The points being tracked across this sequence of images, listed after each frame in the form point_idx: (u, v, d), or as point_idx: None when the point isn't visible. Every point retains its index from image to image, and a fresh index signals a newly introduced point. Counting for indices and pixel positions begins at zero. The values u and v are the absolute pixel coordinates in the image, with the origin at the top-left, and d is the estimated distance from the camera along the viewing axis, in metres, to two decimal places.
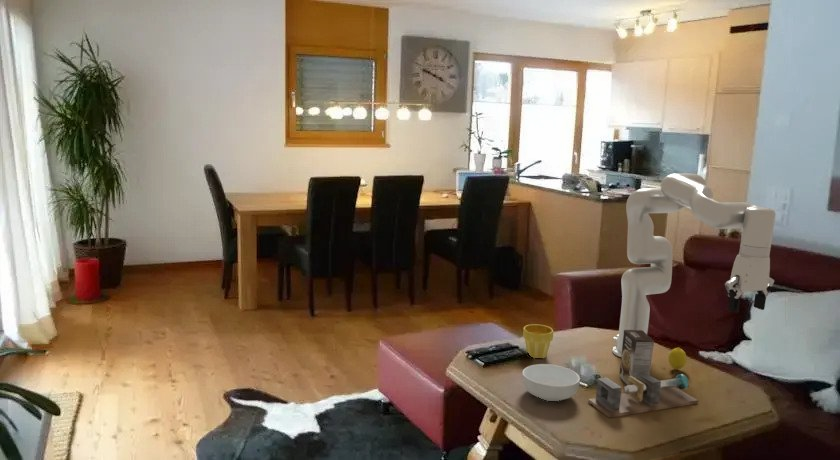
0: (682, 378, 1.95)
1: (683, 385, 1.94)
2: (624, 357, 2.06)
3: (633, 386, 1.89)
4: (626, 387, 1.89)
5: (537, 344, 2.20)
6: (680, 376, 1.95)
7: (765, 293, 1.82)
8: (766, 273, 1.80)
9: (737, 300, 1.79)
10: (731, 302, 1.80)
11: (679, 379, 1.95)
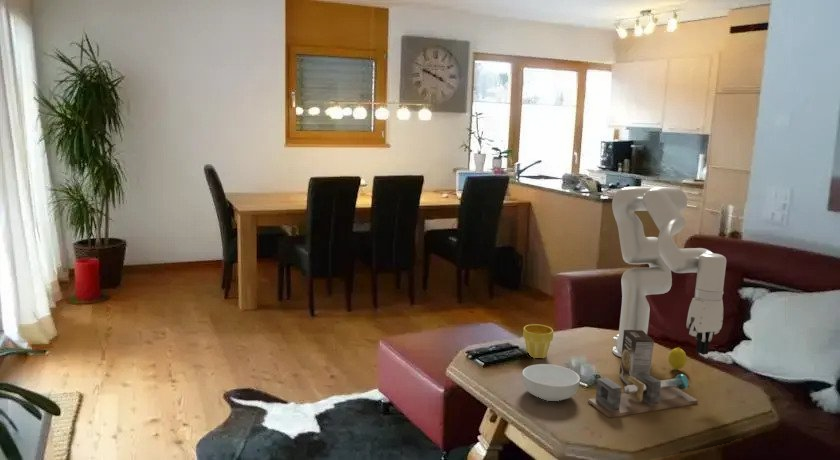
0: (682, 378, 1.95)
1: (683, 385, 1.94)
2: (624, 357, 2.06)
3: (633, 386, 1.89)
4: (626, 387, 1.89)
5: (537, 344, 2.20)
6: (680, 376, 1.95)
7: (708, 338, 1.94)
8: (720, 315, 1.93)
9: (704, 343, 1.94)
10: (698, 345, 1.95)
11: (679, 379, 1.95)
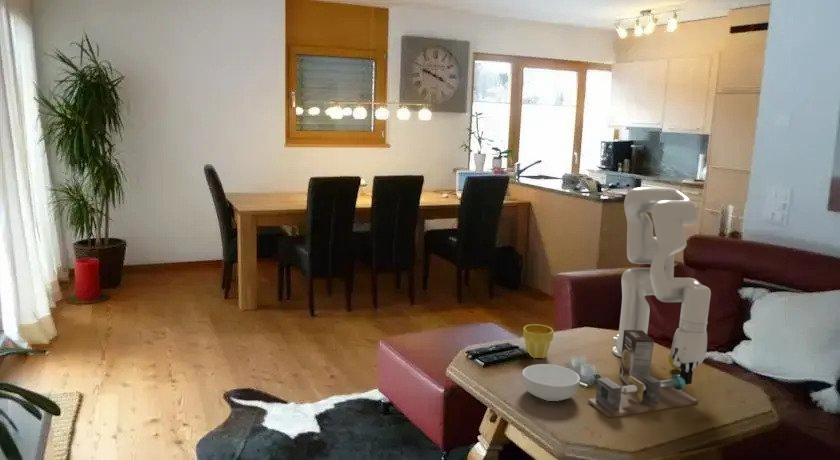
0: (679, 378, 1.94)
1: (680, 385, 1.94)
2: (624, 357, 2.06)
3: (629, 386, 1.88)
4: (623, 388, 1.88)
5: (537, 344, 2.20)
6: (677, 376, 1.95)
7: (692, 368, 1.95)
8: (703, 346, 1.93)
9: (687, 373, 1.94)
10: (682, 375, 1.95)
11: (676, 379, 1.94)
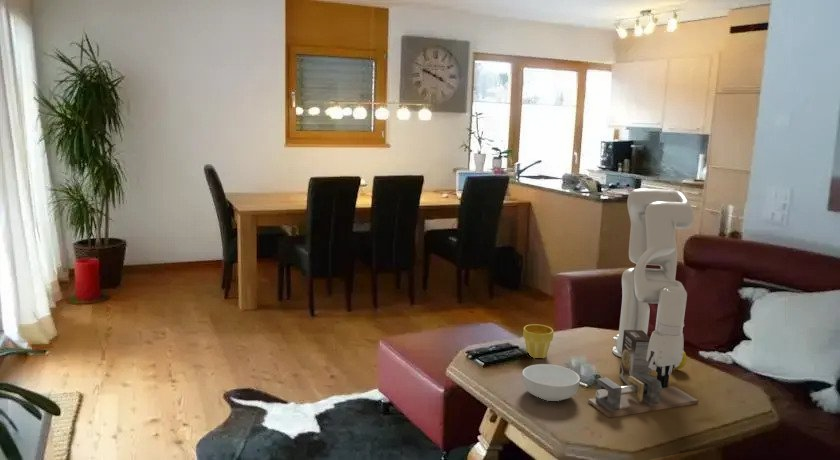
0: None
1: None
2: (624, 357, 2.06)
3: (604, 390, 1.85)
4: (597, 391, 1.85)
5: (537, 344, 2.20)
6: None
7: (668, 372, 1.91)
8: (680, 349, 1.90)
9: (663, 377, 1.91)
10: (658, 378, 1.92)
11: None
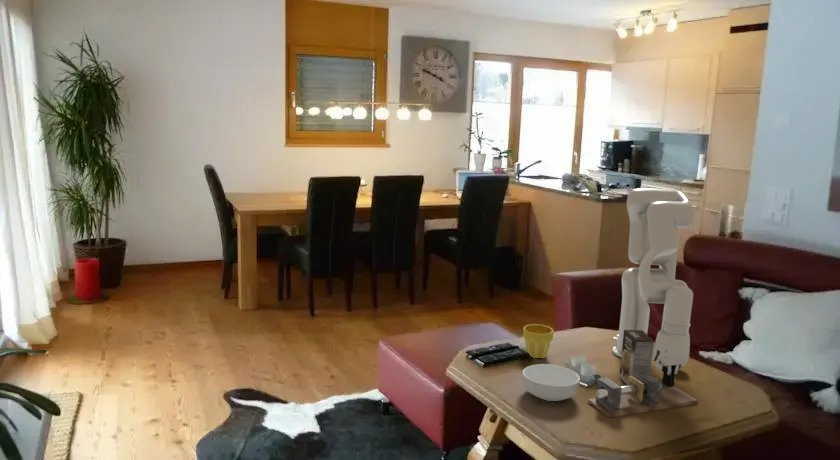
0: None
1: None
2: (624, 357, 2.06)
3: (604, 390, 1.85)
4: (598, 391, 1.85)
5: (537, 344, 2.20)
6: None
7: (674, 371, 1.92)
8: (686, 348, 1.91)
9: (669, 376, 1.92)
10: (664, 377, 1.93)
11: None
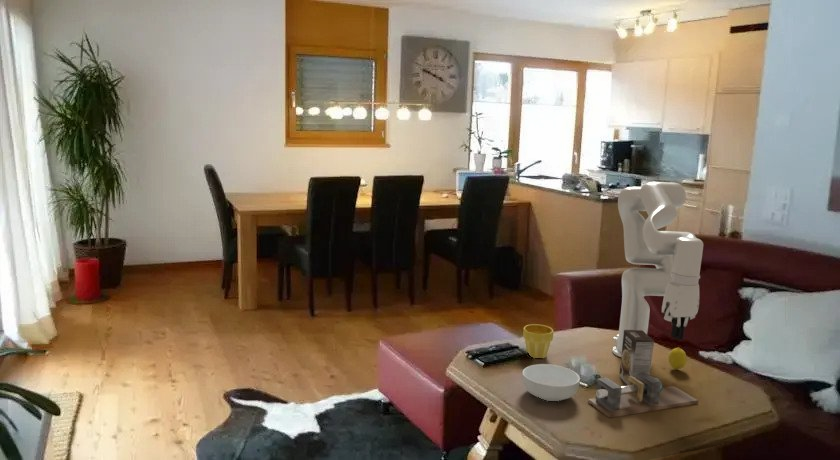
0: None
1: None
2: (624, 357, 2.06)
3: (604, 390, 1.85)
4: (598, 391, 1.85)
5: (537, 344, 2.20)
6: None
7: (683, 323, 1.90)
8: (695, 300, 1.89)
9: (679, 328, 1.90)
10: (673, 330, 1.91)
11: None
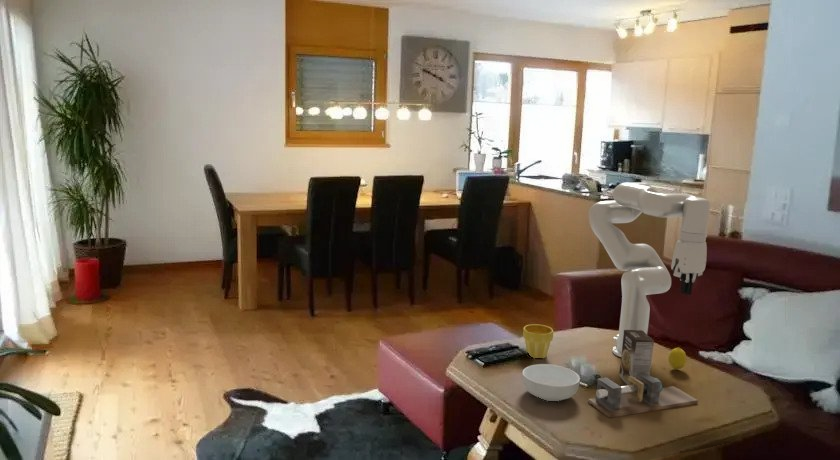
0: None
1: None
2: (624, 357, 2.06)
3: (604, 390, 1.85)
4: (598, 391, 1.85)
5: (537, 344, 2.20)
6: None
7: (692, 279, 2.02)
8: (703, 257, 2.01)
9: (687, 284, 2.02)
10: (682, 286, 2.03)
11: None
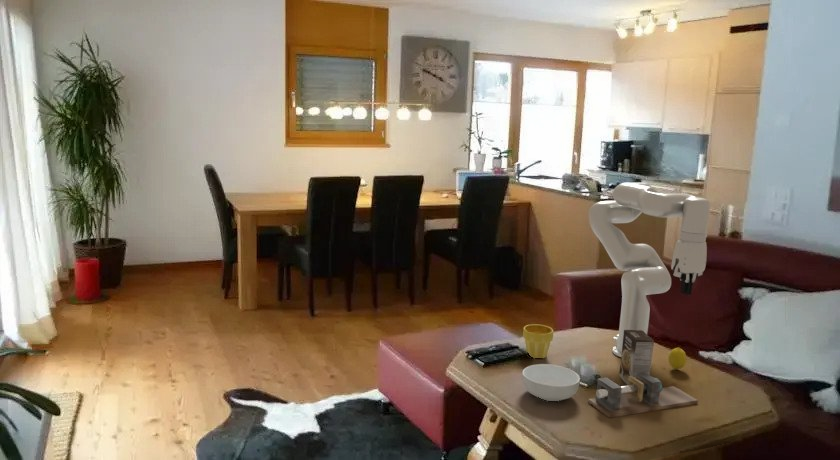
0: None
1: None
2: (624, 357, 2.06)
3: (604, 390, 1.85)
4: (598, 391, 1.85)
5: (537, 344, 2.20)
6: None
7: (692, 279, 2.02)
8: (703, 257, 2.01)
9: (687, 284, 2.02)
10: (682, 286, 2.03)
11: None
